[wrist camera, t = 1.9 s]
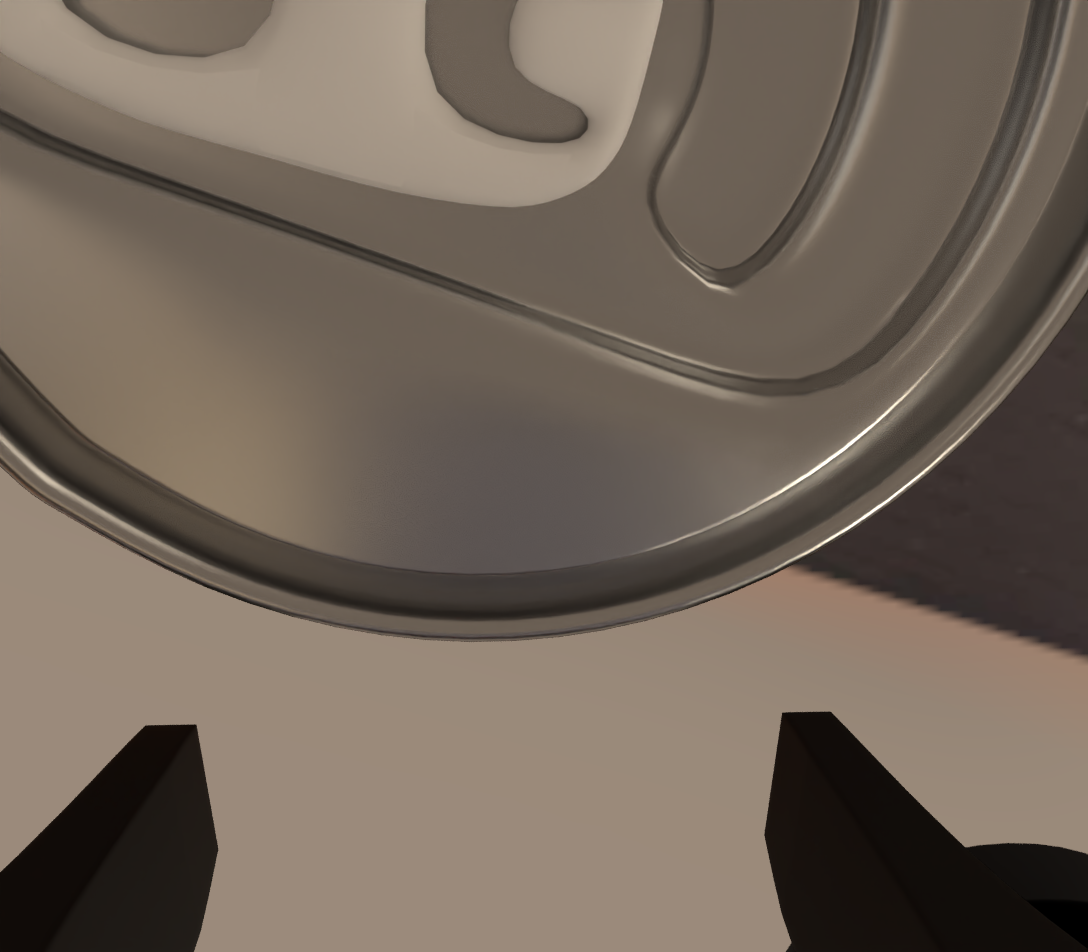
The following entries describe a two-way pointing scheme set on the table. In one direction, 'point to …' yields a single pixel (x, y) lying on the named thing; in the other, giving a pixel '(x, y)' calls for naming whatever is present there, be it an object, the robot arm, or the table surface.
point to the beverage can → (521, 285)
